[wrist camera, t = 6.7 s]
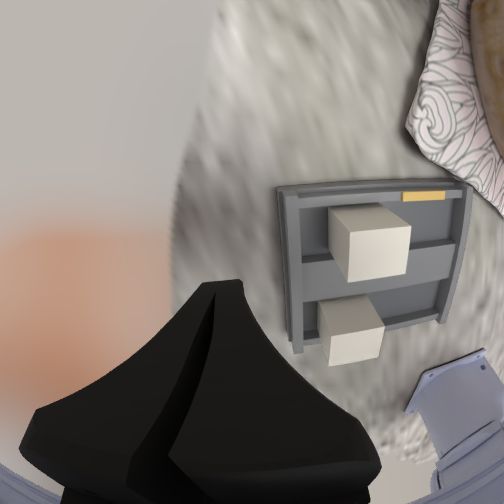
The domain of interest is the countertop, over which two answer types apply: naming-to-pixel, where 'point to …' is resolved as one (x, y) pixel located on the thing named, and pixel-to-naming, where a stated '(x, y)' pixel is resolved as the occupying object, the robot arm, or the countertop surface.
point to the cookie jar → (464, 96)
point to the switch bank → (380, 289)
